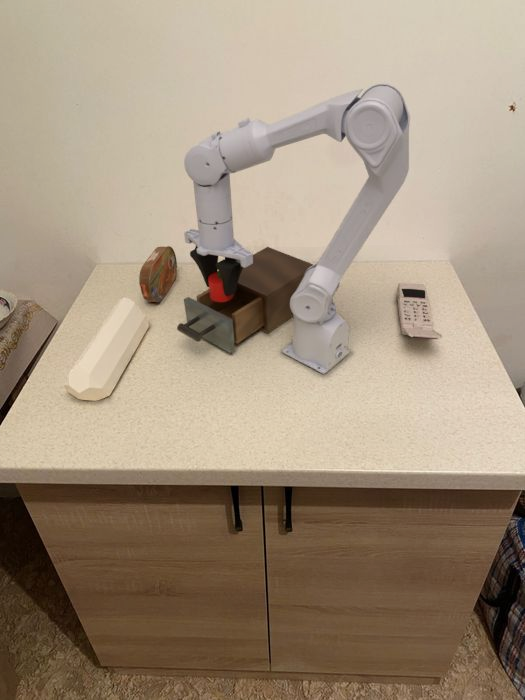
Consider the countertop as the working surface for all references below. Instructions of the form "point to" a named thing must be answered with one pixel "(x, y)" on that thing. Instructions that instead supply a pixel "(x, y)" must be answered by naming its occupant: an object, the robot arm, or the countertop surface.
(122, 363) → the crystal
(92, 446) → the countertop surface
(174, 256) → the tin
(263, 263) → the cabinet
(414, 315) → the mobile phone
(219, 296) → the pepper
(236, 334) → the drawer
